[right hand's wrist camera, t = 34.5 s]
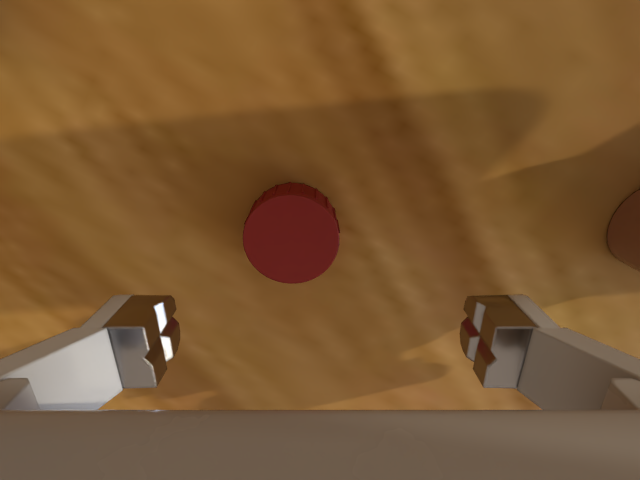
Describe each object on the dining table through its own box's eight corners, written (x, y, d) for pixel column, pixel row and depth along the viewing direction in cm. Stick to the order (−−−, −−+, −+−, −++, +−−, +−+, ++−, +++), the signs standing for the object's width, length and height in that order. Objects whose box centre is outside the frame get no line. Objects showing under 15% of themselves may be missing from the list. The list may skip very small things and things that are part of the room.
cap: (239, 250, 17) (231, 269, 15) (262, 169, 15) (255, 179, 14) (320, 274, 18) (321, 295, 16) (349, 197, 16) (354, 211, 14)
